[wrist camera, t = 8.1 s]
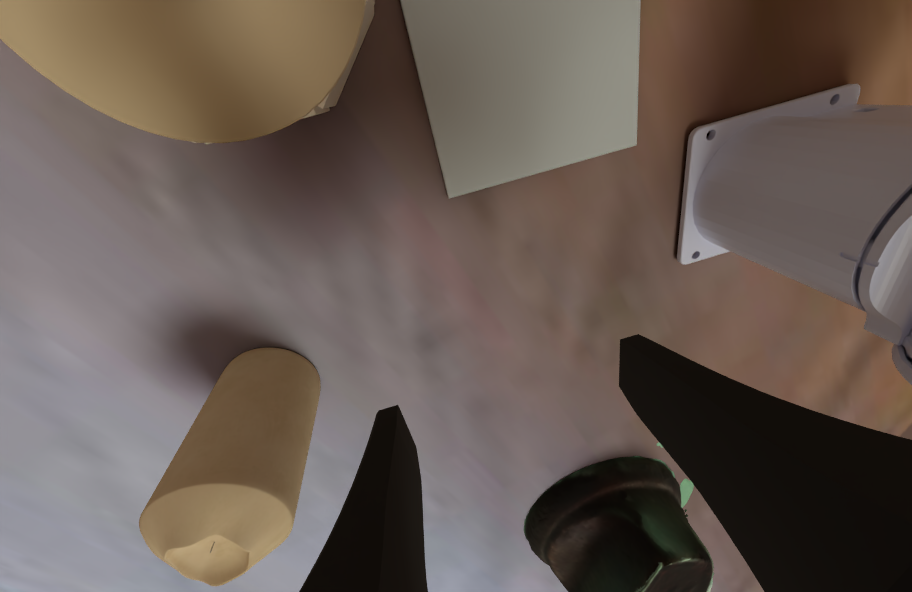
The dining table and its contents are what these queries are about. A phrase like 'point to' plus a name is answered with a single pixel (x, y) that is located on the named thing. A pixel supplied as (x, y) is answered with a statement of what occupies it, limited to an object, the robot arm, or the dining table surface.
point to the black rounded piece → (620, 530)
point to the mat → (524, 83)
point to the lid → (189, 59)
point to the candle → (236, 469)
